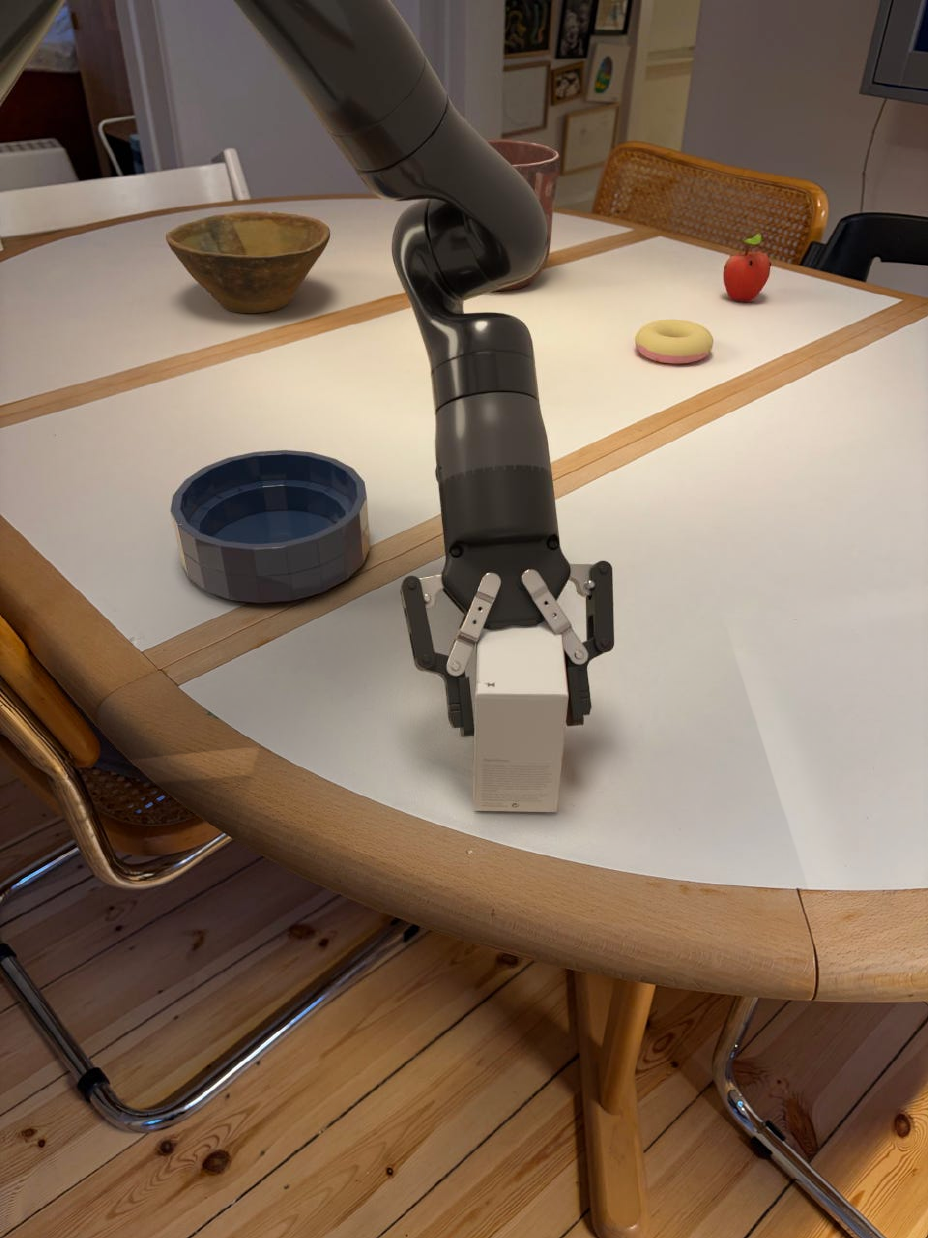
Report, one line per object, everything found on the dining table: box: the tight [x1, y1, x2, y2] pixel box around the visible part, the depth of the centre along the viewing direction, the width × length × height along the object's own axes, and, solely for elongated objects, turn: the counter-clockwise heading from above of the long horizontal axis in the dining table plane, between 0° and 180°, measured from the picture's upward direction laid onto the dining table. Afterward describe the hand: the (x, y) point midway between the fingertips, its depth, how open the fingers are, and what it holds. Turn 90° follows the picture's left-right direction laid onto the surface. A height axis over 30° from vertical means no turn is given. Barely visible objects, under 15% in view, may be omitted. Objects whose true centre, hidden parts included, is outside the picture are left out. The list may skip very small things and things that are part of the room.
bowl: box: [165, 211, 331, 314], centre depth 132 cm, size 22×23×10 cm
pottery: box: [485, 139, 561, 292], centre depth 139 cm, size 18×18×18 cm
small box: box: [472, 615, 569, 813], centre depth 61 cm, size 8×6×10 cm
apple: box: [722, 233, 772, 303], centre depth 135 cm, size 8×7×10 cm
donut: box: [634, 319, 714, 365], centre depth 121 cm, size 10×5×9 cm
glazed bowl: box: [169, 449, 371, 604], centre depth 83 cm, size 17×17×6 cm
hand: (522, 730), depth 60 cm, fingers closed on small box, 6 cm apart
